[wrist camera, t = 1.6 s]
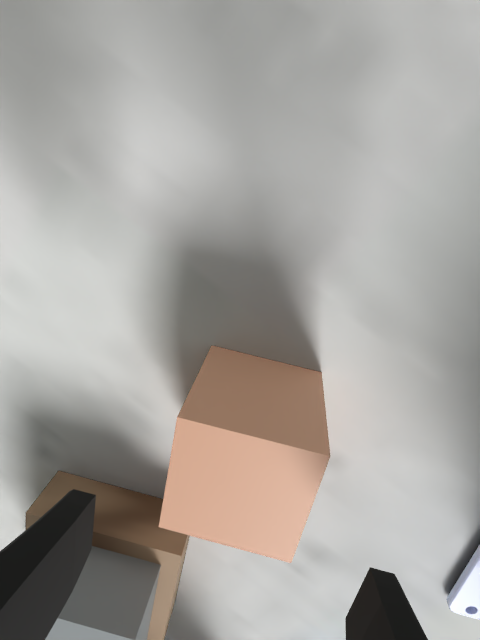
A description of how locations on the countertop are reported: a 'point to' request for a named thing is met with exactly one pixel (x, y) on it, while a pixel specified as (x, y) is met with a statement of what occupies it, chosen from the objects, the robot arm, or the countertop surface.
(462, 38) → the countertop surface
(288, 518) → the terracotta block
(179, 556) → the walnut base block
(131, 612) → the gray top block
